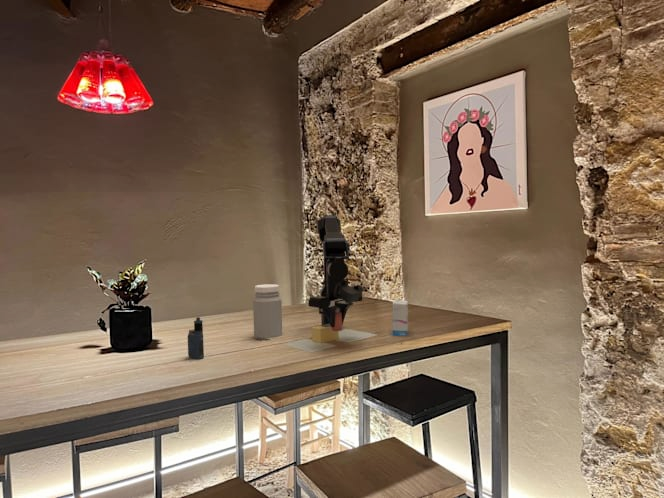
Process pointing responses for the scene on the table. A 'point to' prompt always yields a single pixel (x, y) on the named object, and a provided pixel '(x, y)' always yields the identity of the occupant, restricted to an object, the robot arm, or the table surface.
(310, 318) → the table surface
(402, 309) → the ink box
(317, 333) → the block
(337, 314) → the small red bottle
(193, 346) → the vaping device
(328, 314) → the robot arm
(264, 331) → the jar
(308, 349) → the subfloor panel
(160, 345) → the table surface
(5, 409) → the table surface
